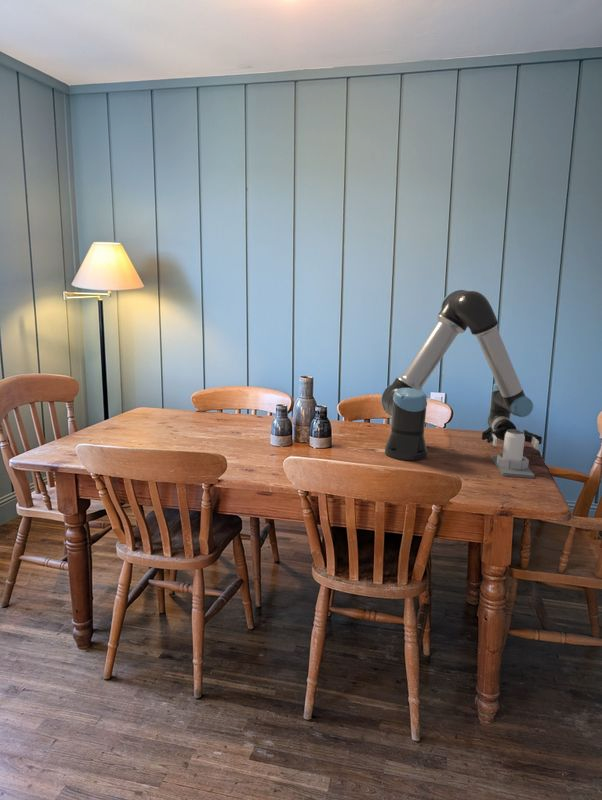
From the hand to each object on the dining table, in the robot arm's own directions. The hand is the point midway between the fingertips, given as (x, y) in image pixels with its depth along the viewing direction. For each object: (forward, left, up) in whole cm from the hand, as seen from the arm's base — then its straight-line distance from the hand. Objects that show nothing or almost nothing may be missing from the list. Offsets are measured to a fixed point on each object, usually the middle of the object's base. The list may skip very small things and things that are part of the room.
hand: (516, 444), depth 199 cm
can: (0, +2, -8) cm, 8 cm away
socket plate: (0, +2, -9) cm, 9 cm away
